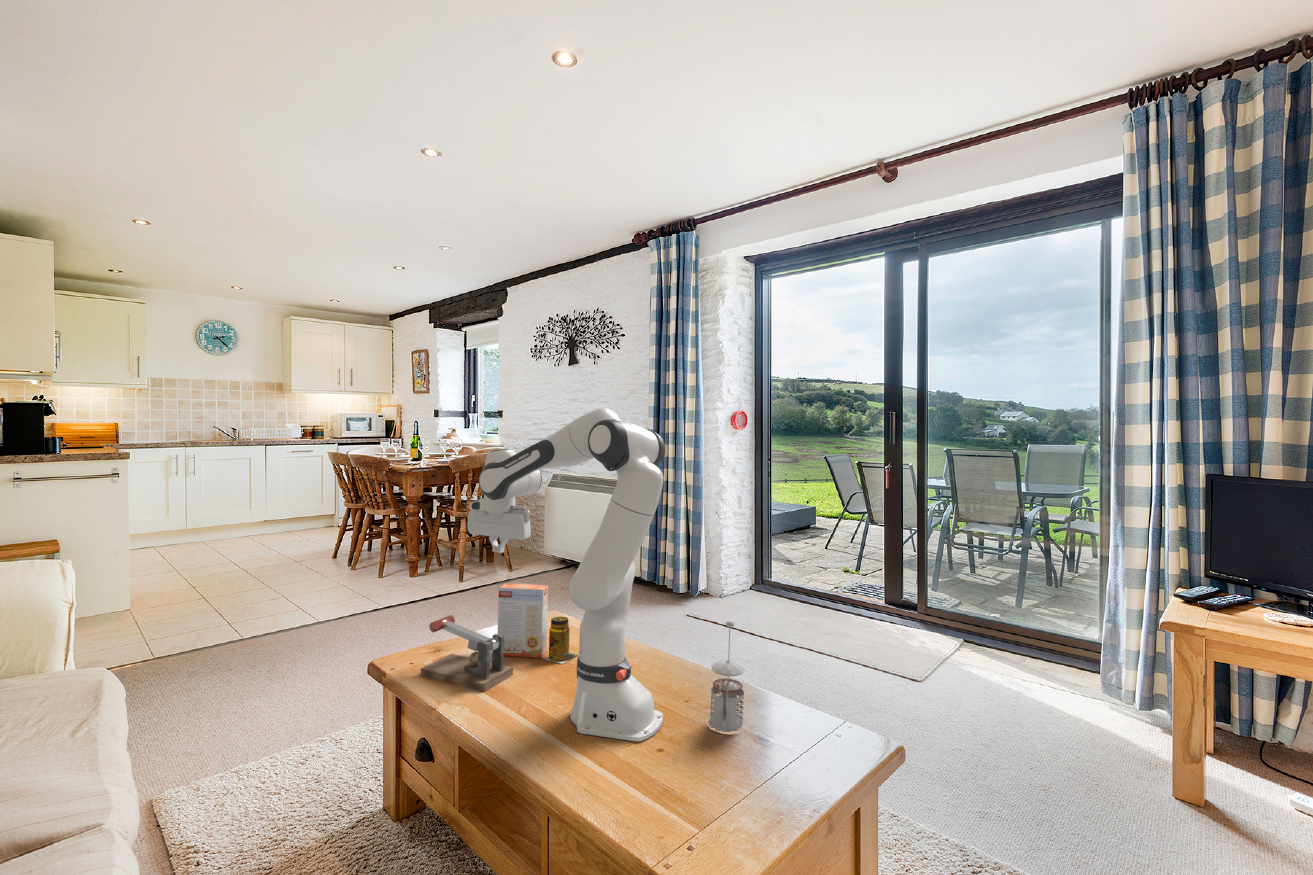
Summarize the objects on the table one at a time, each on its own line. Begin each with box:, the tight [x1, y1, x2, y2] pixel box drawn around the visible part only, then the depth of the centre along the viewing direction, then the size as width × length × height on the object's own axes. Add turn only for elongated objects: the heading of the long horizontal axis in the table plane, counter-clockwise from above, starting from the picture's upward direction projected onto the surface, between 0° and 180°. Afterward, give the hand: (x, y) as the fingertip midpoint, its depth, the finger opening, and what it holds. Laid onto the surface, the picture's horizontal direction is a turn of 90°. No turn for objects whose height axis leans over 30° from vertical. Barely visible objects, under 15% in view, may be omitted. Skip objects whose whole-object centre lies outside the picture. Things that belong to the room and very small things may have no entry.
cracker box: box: [497, 582, 549, 659], centre depth 182 cm, size 14×6×21 cm, turn 84°
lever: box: [428, 614, 501, 652], centre depth 165 cm, size 20×7×4 cm, turn 67°
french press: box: [707, 620, 746, 732], centre depth 141 cm, size 10×12×25 cm
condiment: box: [543, 616, 579, 665], centre depth 180 cm, size 7×8×12 cm
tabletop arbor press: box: [420, 633, 514, 692], centre depth 165 cm, size 22×12×12 cm, turn 67°
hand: (498, 551), depth 173 cm, fingers closed
